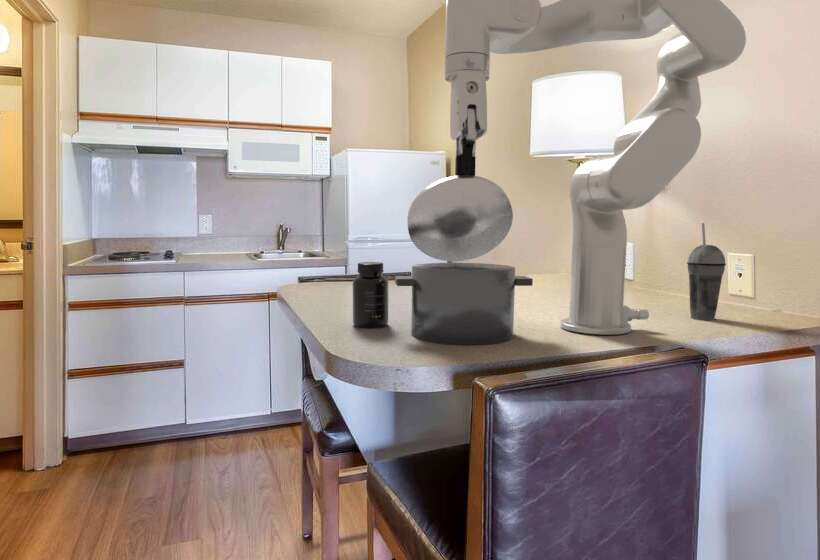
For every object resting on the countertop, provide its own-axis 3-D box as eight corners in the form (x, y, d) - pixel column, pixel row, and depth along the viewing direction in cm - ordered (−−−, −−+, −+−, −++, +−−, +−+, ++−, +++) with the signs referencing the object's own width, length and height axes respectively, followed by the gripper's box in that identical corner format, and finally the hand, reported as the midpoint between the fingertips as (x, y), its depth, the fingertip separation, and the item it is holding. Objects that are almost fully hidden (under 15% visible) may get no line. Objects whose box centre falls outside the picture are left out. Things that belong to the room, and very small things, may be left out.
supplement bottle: (348, 323, 108) (347, 261, 107) (381, 320, 111) (381, 261, 109) (359, 329, 102) (359, 264, 100) (393, 327, 104) (394, 263, 103)
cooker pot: (512, 323, 109) (514, 262, 108) (543, 344, 91) (545, 271, 90) (392, 324, 107) (392, 262, 105) (399, 346, 89) (400, 271, 87)
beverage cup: (729, 321, 113) (736, 223, 111) (693, 321, 113) (700, 223, 111) (710, 315, 121) (717, 223, 118) (677, 315, 121) (682, 222, 118)
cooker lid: (501, 261, 108) (499, 252, 110) (523, 181, 94) (519, 171, 96) (404, 261, 106) (403, 251, 108) (411, 179, 92) (410, 169, 94)
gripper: (499, 58, 87) (496, 177, 89) (479, 81, 102) (477, 183, 104) (452, 56, 86) (450, 176, 88) (439, 80, 101) (437, 182, 103)
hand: (465, 179), depth 96 cm, fingers closed
